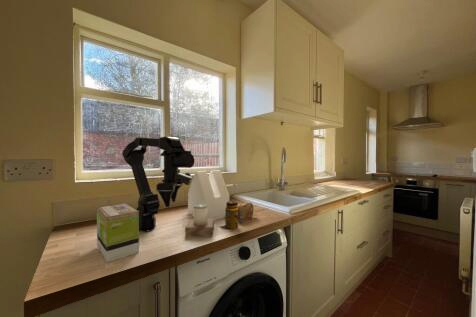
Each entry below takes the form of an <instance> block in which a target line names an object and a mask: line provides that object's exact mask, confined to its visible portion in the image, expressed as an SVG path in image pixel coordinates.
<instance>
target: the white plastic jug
mask: <svg viewBox="0 0 476 317" xmlns="http://www.w3.org/2000/svg"><path fill="white" fill-rule="evenodd" d="M225 182H226V181H225V180H224V176H223V174H222V170H219V169H217V170H210V171H209V174H208V172H207V170H199V171H198V170H195V172H194V175H193V176H192V180H191V182H190V187H189V191H188V192H187V197H188V198H187V213H188V214H189V215H191V216H193V217H194V205H197V204H206V205H208V213H207V219H214V220H218V219H221V218H225V209H226V205H227V204H226V203H227V202H228V201H230V193H229V191H228V188H227V184H226V183H225Z"/></svg>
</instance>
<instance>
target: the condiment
mask: <svg viewBox="0 0 476 317" xmlns="http://www.w3.org/2000/svg"><path fill="white" fill-rule="evenodd" d="M226 204H227V205H226V209H225V217H224V218H225V222H224V225H218V228H219V229H221V230H223V231H224V232H225V233H227V232H231V231H237V230H240V229H242V227H240V226H239V221H238V206H239V205H238V201H236V200H229V201H228V202H227V203H226Z"/></svg>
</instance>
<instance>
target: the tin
mask: <svg viewBox="0 0 476 317" xmlns="http://www.w3.org/2000/svg"><path fill="white" fill-rule="evenodd" d="M237 206H238V223H245V222H247V221H248V220H250V219H251V218H252V217H253V216H254V204H253V203H252V202H244V203H243V204H239V205H237Z"/></svg>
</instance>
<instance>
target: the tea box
mask: <svg viewBox="0 0 476 317" xmlns="http://www.w3.org/2000/svg"><path fill="white" fill-rule="evenodd" d="M136 209H137V208H133V206H130V205H128V204H127V203H120V204H114V205H106V206H100V207H96V237H97V238H96V241H97V243H96V244H97V248H98V249H99V252H100V253H101V255H102V257H103V258H104V259H105V261H106V263H109V262H114V261H115V260H116V261H117V260H120V259H123V258H125V257H130V256H132V255H135V254H138V253H139V252H140V231H139V211H137V210H136Z"/></svg>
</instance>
